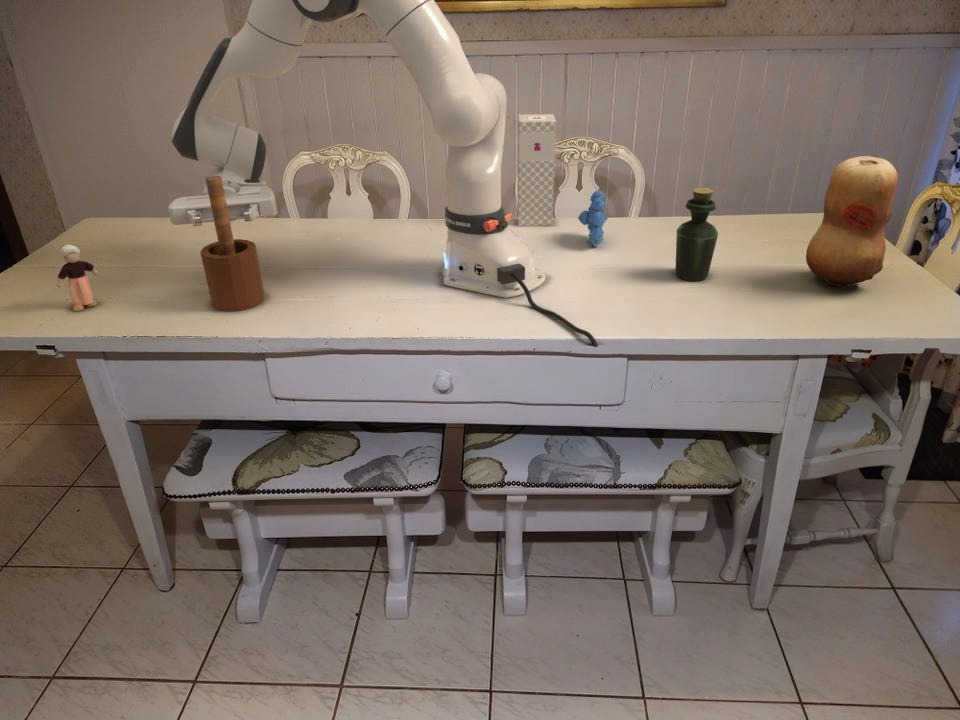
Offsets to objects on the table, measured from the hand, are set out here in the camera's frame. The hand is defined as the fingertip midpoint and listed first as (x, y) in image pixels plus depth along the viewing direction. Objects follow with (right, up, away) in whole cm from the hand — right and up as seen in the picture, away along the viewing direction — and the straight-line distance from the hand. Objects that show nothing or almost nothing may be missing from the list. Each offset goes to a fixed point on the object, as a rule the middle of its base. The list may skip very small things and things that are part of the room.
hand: (222, 219), depth 138 cm
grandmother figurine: (-29, -16, +6) cm, 34 cm away
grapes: (+75, +1, +32) cm, 81 cm away
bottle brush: (+1, -14, +7) cm, 16 cm away
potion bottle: (+93, -9, +14) cm, 94 cm away
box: (+63, +9, +46) cm, 78 cm away
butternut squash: (+121, -11, +9) cm, 122 cm away
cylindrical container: (+1, -15, +7) cm, 16 cm away
